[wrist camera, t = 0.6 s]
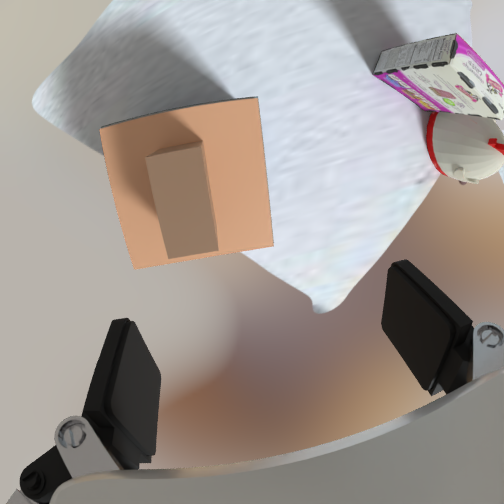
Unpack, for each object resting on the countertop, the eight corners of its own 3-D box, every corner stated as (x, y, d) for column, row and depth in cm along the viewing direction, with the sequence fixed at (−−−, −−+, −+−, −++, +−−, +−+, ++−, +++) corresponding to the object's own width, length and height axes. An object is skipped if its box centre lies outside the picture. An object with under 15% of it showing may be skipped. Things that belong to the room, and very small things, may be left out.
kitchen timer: (463, 187, 43) (521, 216, 30) (416, 159, 40) (484, 183, 26) (482, 122, 38) (542, 137, 24) (437, 85, 34) (507, 89, 21)
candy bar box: (432, 86, 34) (510, 91, 20) (424, 111, 36) (503, 123, 22) (380, 48, 31) (457, 31, 17) (370, 74, 33) (449, 65, 19)
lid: (109, 127, 22) (73, 133, 15) (252, 100, 22) (270, 92, 16) (139, 257, 27) (121, 301, 21) (268, 235, 28) (287, 274, 21)
